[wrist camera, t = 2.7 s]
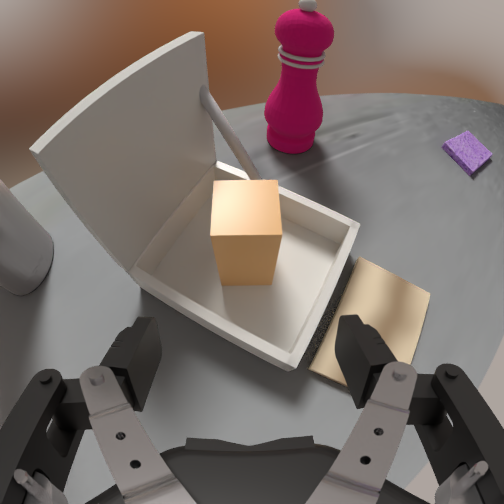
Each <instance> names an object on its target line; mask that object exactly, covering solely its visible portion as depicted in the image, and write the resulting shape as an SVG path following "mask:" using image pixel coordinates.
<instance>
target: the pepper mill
mask: <svg viewBox="0 0 504 504" xmlns="http://www.w3.org/2000/svg"><path fill="white" fill-rule="evenodd" d="M299 7H300V9H293V10H289V11H287V12H285V13H283V14H282V15H281V16H280V17H279V18H278V20H277V22H276V26H275V35H276V37H277V39H278V40H279V41H280V43H281V44H282V45H280V46H279V48H278V50H279V54H278V58H279V60H280V61H281V62H282V72H281V77H280V80H279V82H278V84H277V86H276V87H275V88H274V90H273V91H272V93H271V94H270V96H269V98H268V100H267V102H266V105H265V111H264V115H265V119H266V121H267V123H268V127H267V140H268V142H269V143H270V145H271V146H272V147H274V148H275V149H277V150H279V151H281V152H285V153H290V154H298V153H302V152H305V151H307V150H308V149H310V148H311V147H312V145H313V141H314V137H315V131H316V130H317V129H318V128H319V127H320V125H321V123H322V117H323V109H322V103H321V100H320V97H319V94H318V91H317V87H316V79H317V72H318V69H319V68H320V67H321V66H323V65H324V58H325V52H324V50H325V49H327V48H328V47H329V46H330V45H331V44H332V42H333V38H334V30H333V26H332V24H331V22H330V21H329V20H328V19H327V18H326V17H325V16H324V15H322V14H320V13H318V12H316V11H314V10H315V9H316V8H317V3H316V1H315V0H300V1H299Z"/></svg>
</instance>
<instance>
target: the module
mask: <svg viewBox="0 0 504 504" xmlns="http://www.w3.org/2000/svg"><path fill="white" fill-rule="evenodd" d="M210 237H211V241H212V246H213V250H214V255H215V259H216V264H217V268H218V272H219V277H220V281H221V285H222V286H247V285H272V281H273V277H274V272H275V267H276V263H277V258H278V254H279V249H280V244H281V239H282V223H281V212H280V201H279V191H278V181H277V180H220V181H214V184H213V198H212V214H211V231H210Z"/></svg>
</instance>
